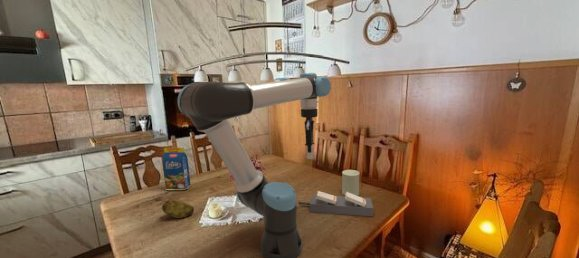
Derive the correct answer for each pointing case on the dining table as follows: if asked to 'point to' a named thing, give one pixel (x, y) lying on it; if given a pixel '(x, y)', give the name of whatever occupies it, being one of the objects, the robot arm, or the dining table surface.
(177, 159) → the blue food package
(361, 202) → the small box
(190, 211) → the olive green oval lump
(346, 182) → the can
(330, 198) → the block
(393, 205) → the dining table surface
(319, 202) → the rocker switch panel
